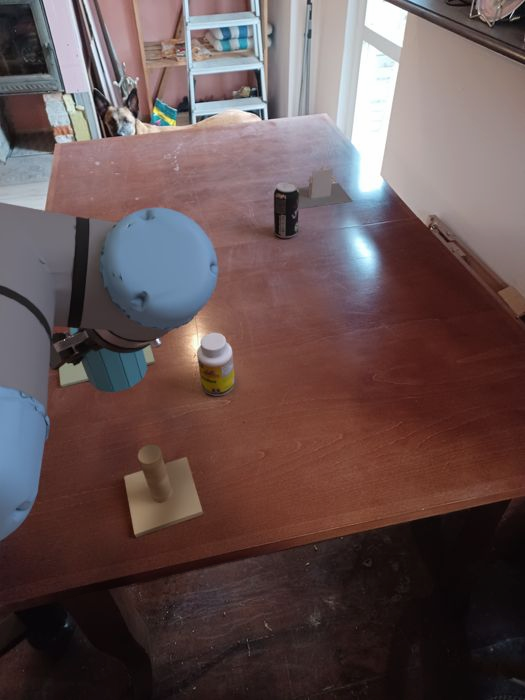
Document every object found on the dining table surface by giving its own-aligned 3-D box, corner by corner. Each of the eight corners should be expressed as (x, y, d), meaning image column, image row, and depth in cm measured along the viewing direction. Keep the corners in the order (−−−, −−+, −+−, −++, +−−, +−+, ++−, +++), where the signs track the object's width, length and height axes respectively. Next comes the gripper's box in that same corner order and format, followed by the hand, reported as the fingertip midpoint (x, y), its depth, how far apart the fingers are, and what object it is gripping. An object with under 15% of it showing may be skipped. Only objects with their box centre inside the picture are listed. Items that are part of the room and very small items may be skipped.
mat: (61, 387, 80) (60, 385, 80) (57, 342, 89) (56, 340, 88) (155, 363, 84) (154, 360, 84) (143, 321, 92) (142, 319, 92)
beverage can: (293, 226, 117) (294, 179, 109) (300, 237, 113) (303, 190, 105) (271, 229, 116) (270, 182, 108) (277, 241, 112) (278, 193, 104)
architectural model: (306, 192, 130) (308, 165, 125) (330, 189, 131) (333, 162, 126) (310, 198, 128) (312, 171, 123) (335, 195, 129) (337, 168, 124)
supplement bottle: (195, 385, 80) (187, 341, 73) (219, 368, 83) (214, 323, 76) (217, 403, 77) (211, 359, 70) (242, 384, 80) (238, 340, 73)
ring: (91, 398, 60) (72, 350, 55) (86, 359, 66) (68, 311, 60) (151, 383, 62) (138, 335, 56) (141, 345, 67) (129, 297, 61)
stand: (135, 538, 62) (117, 497, 54) (125, 479, 68) (107, 436, 60) (203, 514, 64) (194, 472, 56) (187, 460, 70) (177, 415, 62)
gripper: (35, 398, 39) (39, 403, 60) (240, 302, 48) (182, 335, 69) (-9, 316, 39) (10, 349, 59) (207, 233, 47) (158, 287, 68)
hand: (102, 341), depth 64 cm, fingers closed on ring, 8 cm apart
